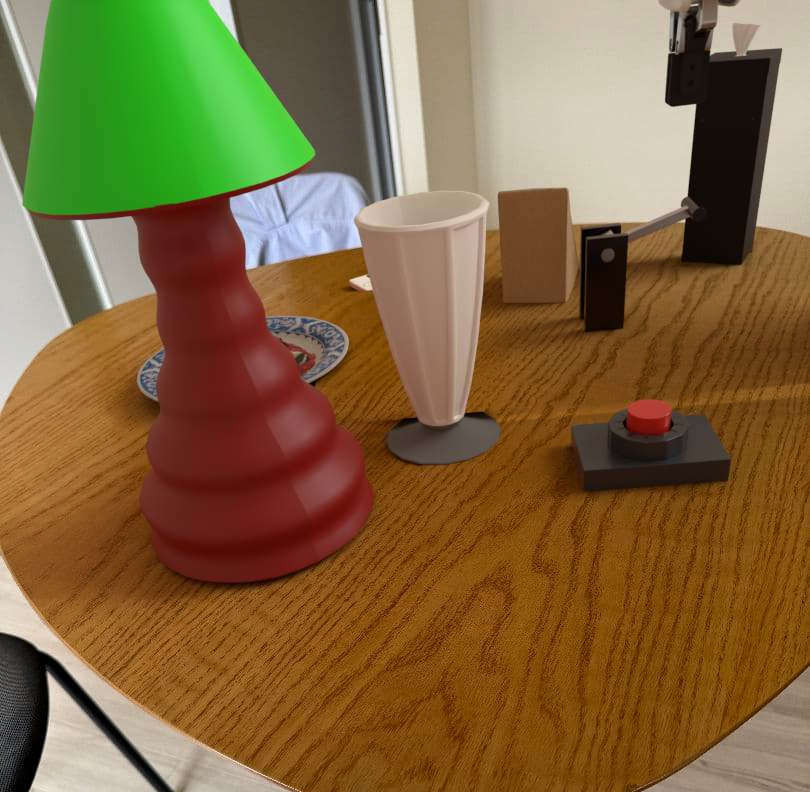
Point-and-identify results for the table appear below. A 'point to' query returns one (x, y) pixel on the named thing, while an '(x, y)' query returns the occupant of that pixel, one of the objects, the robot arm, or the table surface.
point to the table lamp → (197, 279)
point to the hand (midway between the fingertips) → (684, 103)
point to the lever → (667, 219)
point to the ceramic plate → (303, 336)
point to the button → (648, 417)
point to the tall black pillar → (731, 151)
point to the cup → (431, 316)
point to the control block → (648, 454)
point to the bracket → (602, 277)
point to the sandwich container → (536, 245)
